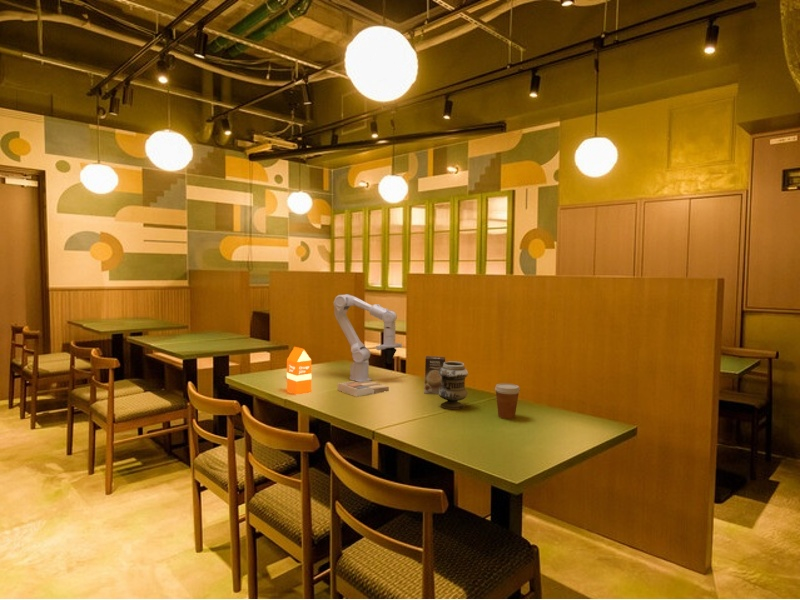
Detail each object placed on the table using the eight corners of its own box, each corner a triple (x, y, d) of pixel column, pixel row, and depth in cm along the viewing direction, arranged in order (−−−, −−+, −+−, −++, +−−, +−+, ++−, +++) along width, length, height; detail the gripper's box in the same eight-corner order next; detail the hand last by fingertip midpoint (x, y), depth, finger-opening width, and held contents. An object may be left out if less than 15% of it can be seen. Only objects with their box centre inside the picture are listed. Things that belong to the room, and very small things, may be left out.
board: (355, 387, 242) (355, 382, 242) (369, 384, 247) (369, 380, 247) (374, 393, 230) (374, 389, 230) (388, 390, 235) (388, 386, 235)
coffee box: (423, 393, 231) (424, 358, 230) (424, 390, 238) (425, 355, 237) (444, 394, 230) (445, 359, 229) (444, 391, 237) (445, 356, 236)
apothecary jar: (455, 412, 203) (456, 367, 202) (431, 406, 211) (432, 362, 210) (473, 406, 212) (474, 363, 211) (449, 400, 220) (450, 359, 219)
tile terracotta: (347, 388, 236) (347, 384, 236) (355, 386, 240) (356, 382, 240) (353, 390, 233) (353, 386, 233) (362, 388, 236) (362, 384, 236)
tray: (337, 390, 235) (337, 382, 235) (354, 387, 241) (355, 379, 241) (356, 397, 224) (356, 389, 224) (374, 393, 230) (374, 386, 230)
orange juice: (296, 394, 226) (296, 349, 225) (286, 391, 233) (286, 347, 231) (311, 392, 231) (311, 348, 230) (301, 388, 238) (301, 345, 236)
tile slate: (355, 391, 231) (355, 386, 231) (364, 389, 235) (364, 385, 234) (362, 393, 228) (362, 389, 227) (371, 391, 231) (371, 387, 231)
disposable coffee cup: (489, 414, 200) (490, 384, 200) (509, 412, 204) (510, 382, 203) (503, 421, 192) (504, 389, 191) (524, 418, 196) (525, 387, 195)
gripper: (382, 337, 243) (382, 366, 244) (406, 335, 253) (405, 362, 254) (373, 336, 249) (373, 363, 250) (396, 333, 258) (396, 360, 259)
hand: (389, 363), depth 252 cm, fingers closed
